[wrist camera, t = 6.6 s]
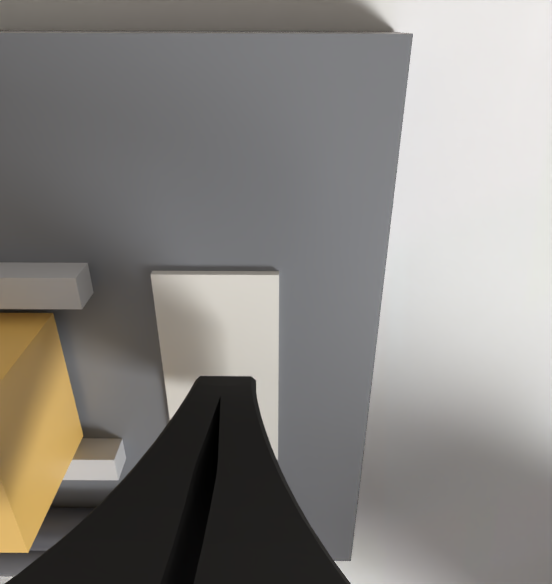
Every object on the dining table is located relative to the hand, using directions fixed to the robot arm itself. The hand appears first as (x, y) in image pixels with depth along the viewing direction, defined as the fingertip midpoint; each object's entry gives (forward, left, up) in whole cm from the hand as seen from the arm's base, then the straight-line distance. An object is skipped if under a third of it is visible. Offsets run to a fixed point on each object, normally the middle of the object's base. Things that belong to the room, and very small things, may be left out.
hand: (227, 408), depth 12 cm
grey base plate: (+10, 0, -3) cm, 11 cm away
